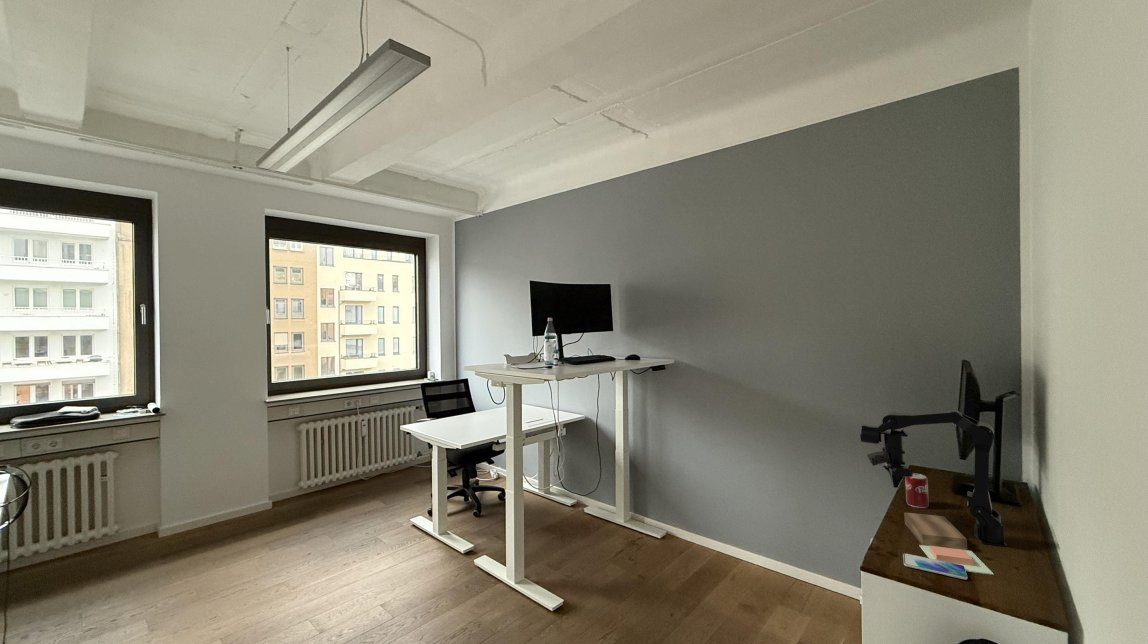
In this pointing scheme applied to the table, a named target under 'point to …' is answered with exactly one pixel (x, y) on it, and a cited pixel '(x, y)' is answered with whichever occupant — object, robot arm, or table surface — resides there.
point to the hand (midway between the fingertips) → (895, 487)
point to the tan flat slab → (935, 531)
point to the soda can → (917, 491)
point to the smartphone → (935, 566)
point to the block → (951, 555)
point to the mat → (977, 564)
